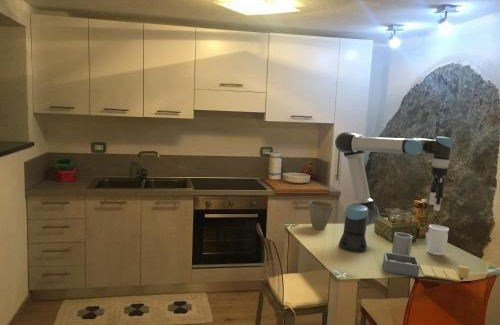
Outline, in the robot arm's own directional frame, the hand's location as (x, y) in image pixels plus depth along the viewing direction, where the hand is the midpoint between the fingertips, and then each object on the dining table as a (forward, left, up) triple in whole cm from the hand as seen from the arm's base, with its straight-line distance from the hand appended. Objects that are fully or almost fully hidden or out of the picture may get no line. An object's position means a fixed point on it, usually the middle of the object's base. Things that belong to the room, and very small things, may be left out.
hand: (433, 207), depth 216 cm
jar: (+7, +15, -29) cm, 33 cm away
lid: (+6, -17, -29) cm, 34 cm away
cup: (-13, -1, -29) cm, 32 cm away
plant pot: (-59, +30, -29) cm, 72 cm away
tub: (-15, -22, -29) cm, 39 cm away
